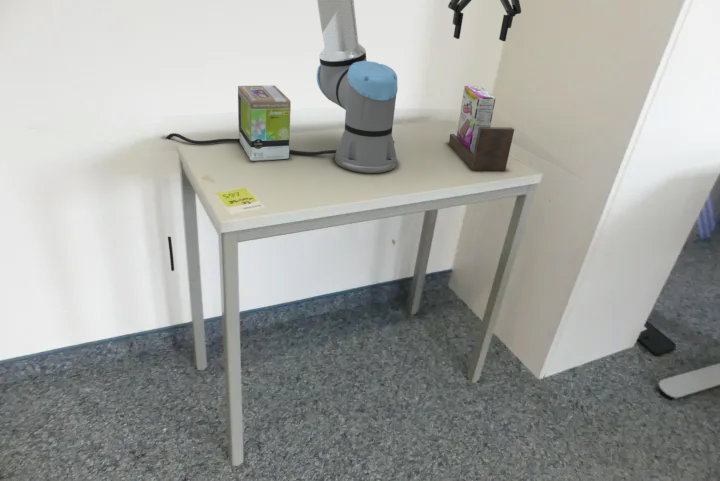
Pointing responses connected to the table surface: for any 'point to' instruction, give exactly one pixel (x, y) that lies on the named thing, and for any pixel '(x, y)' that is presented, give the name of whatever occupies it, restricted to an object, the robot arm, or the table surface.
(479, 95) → the candy bar box
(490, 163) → the book rack
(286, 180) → the table surface
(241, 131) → the tea box
